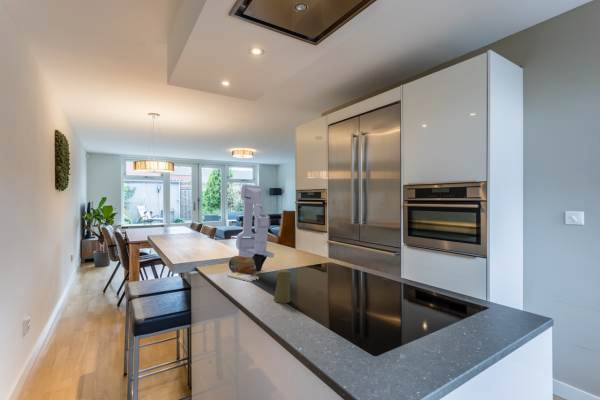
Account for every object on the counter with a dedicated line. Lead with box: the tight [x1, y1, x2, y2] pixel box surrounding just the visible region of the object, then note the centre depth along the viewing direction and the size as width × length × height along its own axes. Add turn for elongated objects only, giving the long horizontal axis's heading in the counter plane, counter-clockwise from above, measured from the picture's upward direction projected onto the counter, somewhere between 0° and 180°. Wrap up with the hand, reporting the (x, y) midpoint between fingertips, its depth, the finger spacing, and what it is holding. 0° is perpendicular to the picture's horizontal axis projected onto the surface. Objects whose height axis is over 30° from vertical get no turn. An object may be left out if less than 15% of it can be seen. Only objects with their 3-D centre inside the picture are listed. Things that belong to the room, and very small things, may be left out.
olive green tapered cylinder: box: [273, 268, 292, 304], centre depth 108 cm, size 6×6×11 cm
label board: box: [226, 272, 260, 283], centre depth 137 cm, size 6×13×1 cm, turn 61°
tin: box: [228, 255, 258, 276], centre depth 144 cm, size 15×3×8 cm, turn 74°
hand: (258, 270), depth 140 cm, fingers closed
